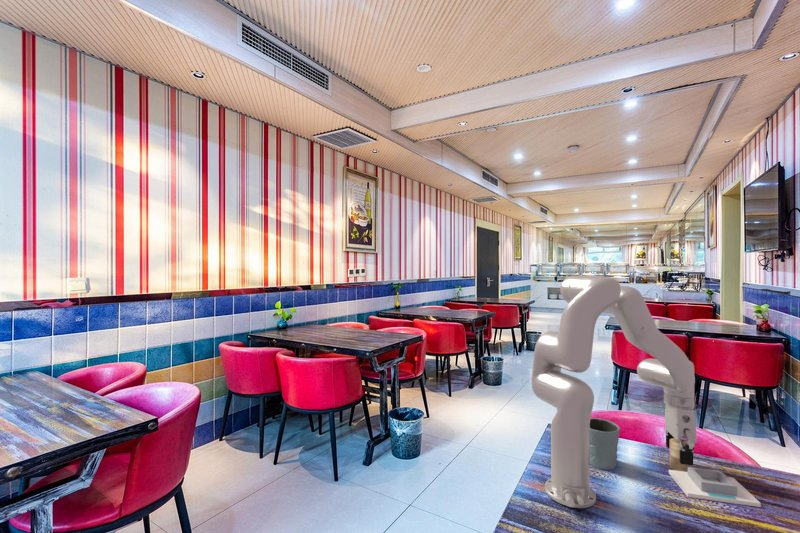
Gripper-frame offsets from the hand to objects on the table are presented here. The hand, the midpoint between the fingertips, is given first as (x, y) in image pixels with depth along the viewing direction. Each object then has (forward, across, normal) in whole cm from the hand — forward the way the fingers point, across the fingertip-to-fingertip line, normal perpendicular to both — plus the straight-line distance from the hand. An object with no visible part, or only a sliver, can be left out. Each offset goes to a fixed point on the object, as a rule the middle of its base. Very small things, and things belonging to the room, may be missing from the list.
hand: (679, 455), depth 115 cm
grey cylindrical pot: (+4, -3, +22) cm, 23 cm away
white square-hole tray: (+4, -10, -4) cm, 11 cm away
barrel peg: (+4, 0, 0) cm, 4 cm away
